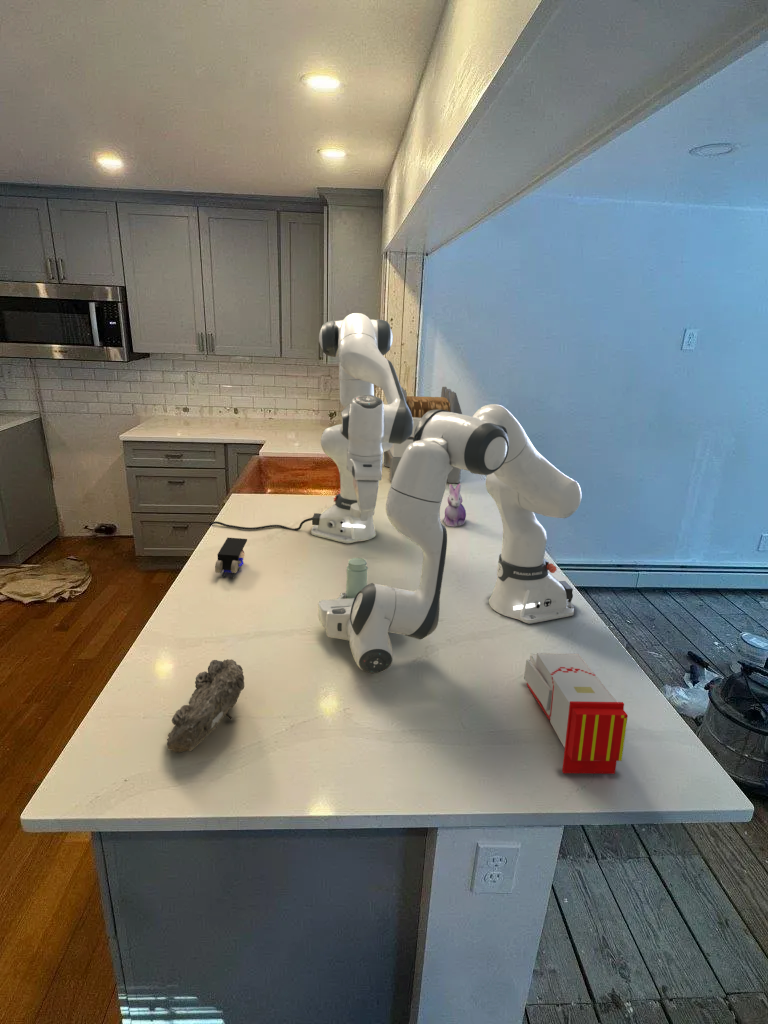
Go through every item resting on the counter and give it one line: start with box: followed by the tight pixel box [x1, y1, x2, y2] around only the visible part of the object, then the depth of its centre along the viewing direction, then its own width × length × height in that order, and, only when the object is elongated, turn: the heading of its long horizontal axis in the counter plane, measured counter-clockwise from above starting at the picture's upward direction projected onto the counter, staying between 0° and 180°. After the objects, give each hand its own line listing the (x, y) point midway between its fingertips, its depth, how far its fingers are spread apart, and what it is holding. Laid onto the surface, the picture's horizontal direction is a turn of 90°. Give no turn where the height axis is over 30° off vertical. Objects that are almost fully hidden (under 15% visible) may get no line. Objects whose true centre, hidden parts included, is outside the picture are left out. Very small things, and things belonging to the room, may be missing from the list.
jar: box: [345, 557, 369, 599], centre depth 143 cm, size 5×5×15 cm
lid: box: [350, 503, 375, 518], centre depth 145 cm, size 6×6×2 cm
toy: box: [523, 652, 628, 775], centre depth 110 cm, size 12×13×30 cm
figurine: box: [443, 483, 467, 528], centre depth 210 cm, size 9×10×15 cm
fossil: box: [166, 658, 245, 754], centre depth 106 cm, size 22×10×15 cm
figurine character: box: [214, 537, 248, 578], centre depth 166 cm, size 7×8×15 cm
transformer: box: [382, 386, 463, 484], centre depth 268 cm, size 34×33×41 cm
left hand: (362, 514), depth 145 cm, fingers closed on lid, 6 cm apart
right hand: (355, 594), depth 145 cm, fingers closed on jar, 5 cm apart
